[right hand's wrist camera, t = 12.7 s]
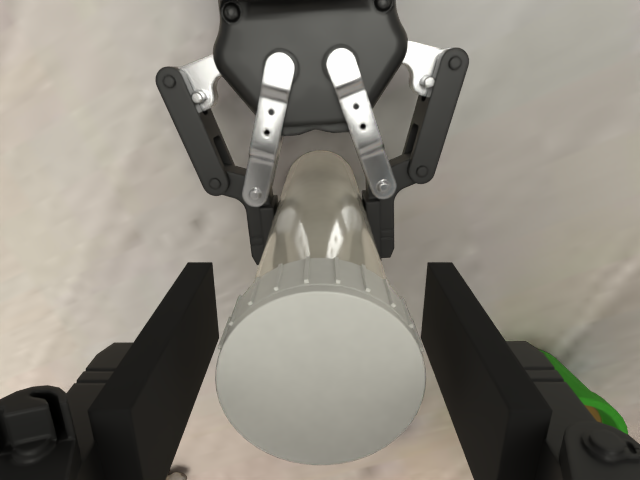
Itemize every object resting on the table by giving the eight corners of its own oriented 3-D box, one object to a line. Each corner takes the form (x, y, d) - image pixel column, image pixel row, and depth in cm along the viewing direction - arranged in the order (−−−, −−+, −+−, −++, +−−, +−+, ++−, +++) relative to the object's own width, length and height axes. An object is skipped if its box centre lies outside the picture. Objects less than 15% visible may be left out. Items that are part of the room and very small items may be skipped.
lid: (291, 217, 11) (285, 245, 9) (452, 317, 12) (474, 360, 10) (194, 361, 13) (173, 409, 11) (344, 440, 14) (348, 496, 12)
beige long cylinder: (310, 136, 28) (292, 258, 10) (369, 175, 29) (449, 352, 11) (273, 194, 29) (197, 394, 11) (330, 230, 30) (343, 469, 12)
